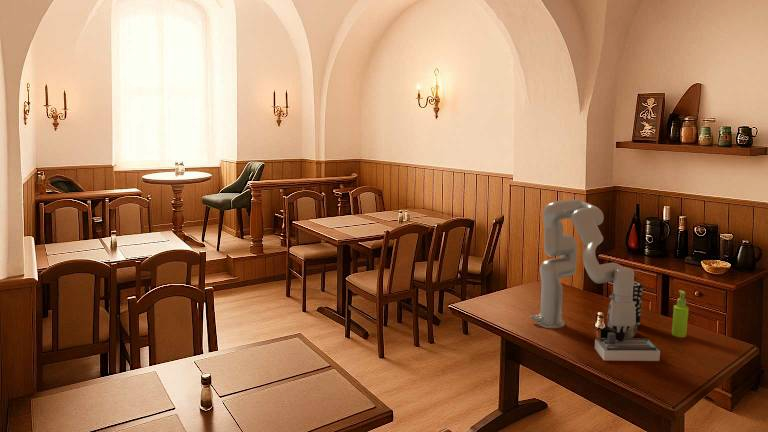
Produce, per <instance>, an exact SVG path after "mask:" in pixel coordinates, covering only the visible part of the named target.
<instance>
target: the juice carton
mask: <svg viewBox="0 0 768 432" xmlns="http://www.w3.org/2000/svg"><path fill="white" fill-rule="evenodd" d="M620 329H621V326H620ZM608 332H614V333H615V335H616V330H615V329H614V328H611V327H608V326H607V325H606V326H604V327H603V328H601V329H600V336H599V339H600V338H607V336H608ZM637 334H638V327H637V323H635V325H634V327H632V328H629V329H628V330H626V332H625V335H624V338H634V336H636V335H637Z"/></svg>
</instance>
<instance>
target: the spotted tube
mask: <svg viewBox="0 0 768 432" xmlns="http://www.w3.org/2000/svg"><path fill="white" fill-rule="evenodd" d="M643 287H644V285H643V283H642V282H640V281H635V280H634V285H633V299H632V301H634V302H635V310H636V323H637V328H639V327H640V326H641V315H642V313H641V312H642V303H643V301H642V300H643V298H642V297H643Z"/></svg>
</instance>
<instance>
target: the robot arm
mask: <svg viewBox="0 0 768 432" xmlns="http://www.w3.org/2000/svg"><path fill="white" fill-rule="evenodd" d="M542 217H543V227H544V229H543V252H544V254H545V255H546V256H548V257H554V258H550V259H545V260H543V262H542V263H541V264H540V267H539V274H540V279H541V280H540V281H541V288H540V289H541V291H540V294H541V295H540V312H538V314H536V315H533V314H531V315H529V318H530V320H533V321H535V322H536V325H538V326H539V327H542V328H545V329H551V330H552V329H562V328H563V327H564V326H565V321H564V320H563V319H562V314H563V313H562V312H563V310H562V309H563V285H562V283H561V281H560V279H563V278H564V279H565V278H567V277H572V276H573V275H574V274H575V273H576V270H577V263H578V262H577V260H578V243H577V241H576V239H575V237H574V236H573V235H571V234H570V233H569V234H567V233H564V224H563V223H562V221H561V220H570V219H571V222H572V225H573V226H574V228H575V230H576V233H577V234H578V236H579V238H580V240H581V242H582V244H583V251H582V264H583V266H584V268H585V270H586V272H587V275H588V277H589V279H591V281H592V282H594V283H595V284H604V283H605V284H606V283H608V282H613V285H612V293H611V294H610V295H608V298H609V299H610V302H609V305H608V311H607V318H606V319H607V324H606V326H608V327H611V328H614V329H615V330H616V334H615V335H616V337H615V338H616V339H617V340H618V341H619V342H620V341H621V342H623V339H624V335H625V332H626V330H628V329H629V328H632V327H634V325H635V323H636V310H635V302H634V301H632V299H633V285H634V281H635V271H634V270H633V269H632V268H630V267H626V266H623V265H621V264H619V263H617V262H607V263H602V264H600V263H599V261H598V259H597V256H596V249H597V247H598V246H599V245H600V244H601V243H603V241H604V236H603V235H602V232H601V230H600V229H599V227H598V226H600V225H601V224H603V222H604V212H603V211H602V210H601V209H600V208H599V207H597V206H596V205H594V204H591V203H589V202H586V201H583V200H581V199H576V198H575V199H574V198H573V199H564V200H555V201H552V202H550V203H547V204H546V205H545V206H544V209H543V212H542ZM620 326H621V329H620Z"/></svg>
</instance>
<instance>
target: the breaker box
mask: <svg viewBox="0 0 768 432" xmlns="http://www.w3.org/2000/svg"><path fill="white" fill-rule="evenodd" d="M594 349H595V350H596V352H597V354H598V355H599V356H600V357H601V358H602V360H603V361H614V362H615V361H623V362H624V361H625V362H626V361H629V362H634V361H635V362H637V361H638V362H639V361H640V362H644V361H645V362H659V361H660V359H661V357H660V356H661V351H660V350H659V348H657V347H656V346H655V345H654V344H653V343H652V342H651V341H650V340H649V339H648V338H643V337H642V338H634V337H632V338H624V339H623V342H621V341H620V342H619V341H618V340H617V339H616V337H615V344H607V337H605V338H600V337H599V339H594Z"/></svg>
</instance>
